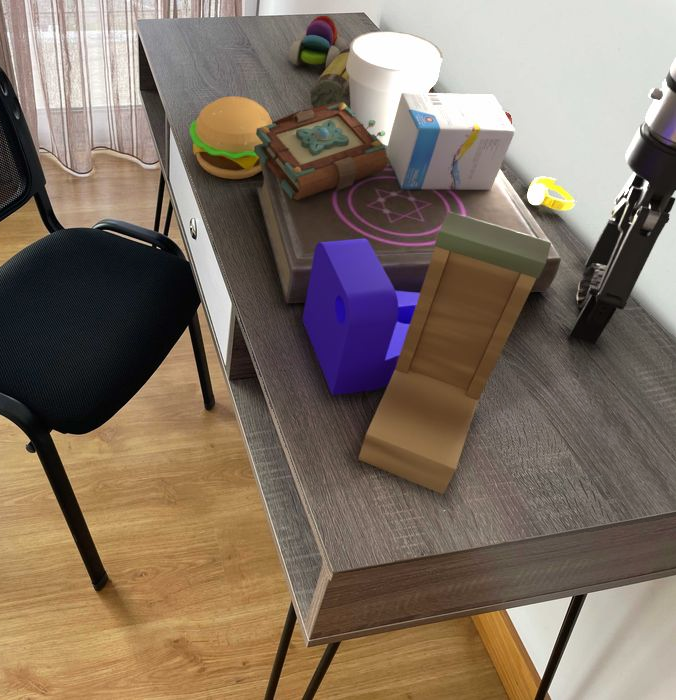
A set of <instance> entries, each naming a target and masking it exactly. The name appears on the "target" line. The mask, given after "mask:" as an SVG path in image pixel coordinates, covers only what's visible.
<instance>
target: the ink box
mask: <svg viewBox="0 0 676 700" xmlns="http://www.w3.org/2000/svg"><path fill="white" fill-rule="evenodd" d="M502 109H503V108H502V106H501V105H500V104H499V102H498V100H497V99H496V97H495V96H494V95H493V94H477V93H476V94H471V93H441V92H440V93H439V92H438V93H437V92H433V93H401V96H400V100H399V104H398V107H397V111H396V115H395V119H394V123H393V126H392V130H391V134H390V138H389V142H388V146H387V150H386V153H387V155H388V158H389V160H390V163H391V166H392V168H393V170H394V173H395V176H396V178H397V180H398V183H399V186H400V188H401V189H446V190H491V189H492V186H493V184H494V181H495V179H496V176H497V174H498V172H499V169H500V170H501V167H502V165H503V161H504V159H505V158H506V154H507V152H508V150H509V147H510V145H511V143H512V140H513V138H514V135H515V133H516V130H515V128H514V127H513V125H511V123H510V122H509V120H508V118H507V117H506V115H505V114H504V112H503V110H502Z"/></svg>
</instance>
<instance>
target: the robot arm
mask: <svg viewBox="0 0 676 700" xmlns="http://www.w3.org/2000/svg"><path fill="white" fill-rule="evenodd" d="M648 97H649V99H650V100H653V102H652V104H651V105H650V107H649V109H648V111H647V113H646V116H645V121H644V122H642V123H641V124H640V125H639V127H638V130H637V131H636V133H635V135H634V137H633V139H632V141H631V143H630V145H629V147H628V149H627V150H626V153H625V161H626V165H627V166H628V167H629V169H630V170H631V171H632V172H633V173H632V174H631V176H630V177H629V179H628V180H627V182H626V183H625V185H624V187H623V188H622V189H621V191H620V193H619V194H618V195H617V196H616V197H615V199H614V205H615V206H614V208H613V209H612V210H611V212H610V218H612V219H608V220H607V222H606V224H605V225H604V227H603V229H602V230H601V231H602V232H601V233H600V235H599V236H598V239H597V241H596V243H595V244H594V246H593V248H592V250H591V252H590V254H589V255H588V258H587V259H586V261H585V264H584V267H585V268H588V267H589V266H590V265H591V264H593V263H594V264H595V263H596V264H601V265H606V266H607V267H606V270H605V272H604V274H603V277H602V279H601V281H600V284H599V286H598V288H594V289H593V288H589V289H588V294H590V297H589V299H588V301H587V302H586V304H585V306H584V307H582V310H581V311H580V313H579V315H578V317H577V318H576V320H575V322H574V324H573V325H572V327H571V329H570V331H569V334H568V337H569V338H573V339H576V340H579V341H583V342H585V343H588V344H591V345H593V346H595V345H596V344H597V342H598V340H599V339H600V337H601V335H602V334H603V332H604V330H606V328H607V326H608V324H609V323H610V320H611V319H612V317H613V316H614V314H615V313H616V311H617V309H618V310H621V311H623V310H624V309H625V307H626V306H627V304H628V300H629V298H630V297H631V294H632V293H633V290H634V288H635V286H636V284H637V281H638V280H639V277H640V275H641V273H642V271H643V269H644V268H645V264H646V263H647V261H648V259H649V257H650V254H651V253H652V250H653V248H654V247H655V245H656V242H657V240H658V238H659V237H660V235H661V234H662V231H663V230H664V228H665V227H666V225H667V224H668V222H669V221H670V215H671V214H670V213H671V211H672V209H673V208H674V207H673V206H674V204H675V202H676V197H673V195H674V194H675V192H676V57H675V58H674V60H673V62H672V64H671V66H670V68H669V70H668V72H667V74H666V75H665V79H664V81H663V82H662V87H661V88H659V87H654V88H652V89H650V92H649V94H648Z"/></svg>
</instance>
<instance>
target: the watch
mask: <svg viewBox="0 0 676 700" xmlns="http://www.w3.org/2000/svg"><path fill="white" fill-rule="evenodd" d="M555 180H556V178H552V177H548V176H547V177H546V176H539V177H536V178H534V180H532V182H531V184H530V186H529V187H528V191H527V195H526V196H527V200H528V202H529V204H531V205H532V206H541V205H542V206H545V207H547V208H549V209H551V210H555V211H570V210H571V209H573V208H574V206H575V204H574V202H575V200H574V199H573V197H572V196H571V195H570V194H569V193H568V192H567V191H565V190H564V189H563V188H562V187H561V186H557V185H554V183H555ZM548 189H549V190H551V191H554V192H556V193H558V194H559V195H560V196H561V197H562V198H563V199H560V198H556V197H553V196H551V195H550V194H549V191H548ZM564 199H565V200H564Z"/></svg>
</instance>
